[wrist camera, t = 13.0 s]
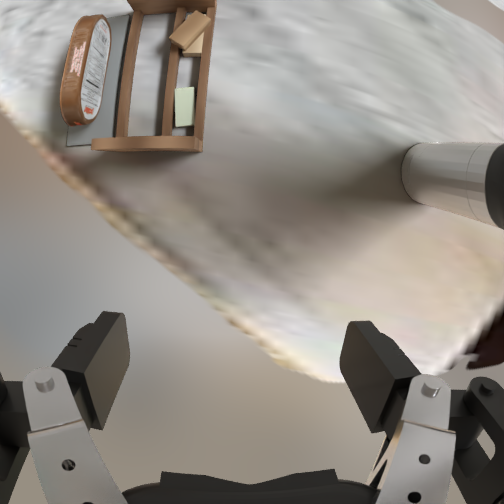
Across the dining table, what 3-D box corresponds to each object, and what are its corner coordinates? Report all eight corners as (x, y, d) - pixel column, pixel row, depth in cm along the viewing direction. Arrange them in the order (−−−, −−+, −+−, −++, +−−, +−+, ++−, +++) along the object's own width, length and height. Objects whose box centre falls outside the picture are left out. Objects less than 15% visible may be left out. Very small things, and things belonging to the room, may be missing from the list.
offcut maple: (207, 20, 32) (206, 14, 30) (202, 57, 34) (201, 52, 32) (189, 20, 32) (187, 14, 30) (184, 57, 33) (182, 52, 32)
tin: (99, 29, 30) (75, 6, 22) (120, 26, 30) (98, 1, 22) (83, 129, 34) (51, 123, 26) (103, 128, 34) (74, 121, 26)
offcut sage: (195, 89, 35) (193, 86, 34) (196, 126, 36) (194, 124, 35) (176, 91, 35) (174, 88, 33) (177, 127, 36) (175, 126, 35)
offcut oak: (211, 24, 31) (210, 18, 29) (185, 51, 31) (183, 46, 30) (197, 16, 30) (195, 10, 28) (171, 42, 31) (168, 37, 29)
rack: (216, 5, 31) (214, -29, 22) (202, 151, 37) (194, 148, 28) (138, 9, 30) (119, -21, 21) (119, 151, 36) (91, 150, 27)
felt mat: (130, 16, 30) (129, 14, 30) (113, 143, 36) (111, 142, 35) (86, 23, 30) (85, 22, 29) (68, 145, 35) (66, 145, 34)
